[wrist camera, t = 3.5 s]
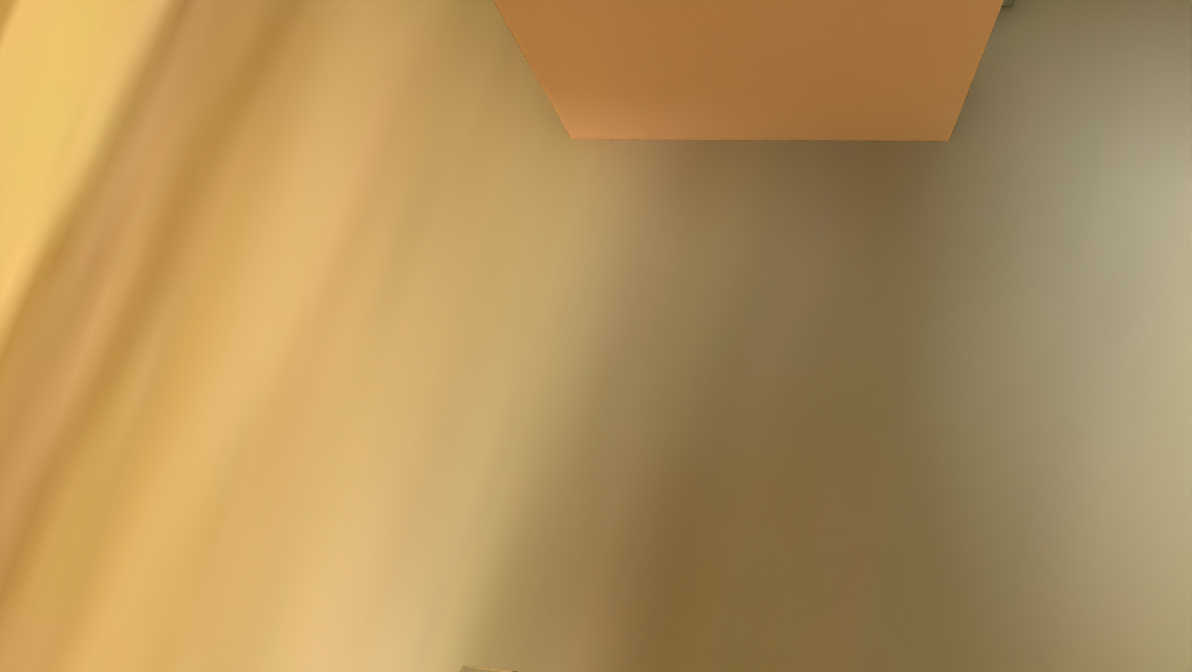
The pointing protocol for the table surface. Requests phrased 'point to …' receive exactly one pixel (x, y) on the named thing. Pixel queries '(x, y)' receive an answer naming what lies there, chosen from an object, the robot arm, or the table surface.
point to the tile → (754, 66)
